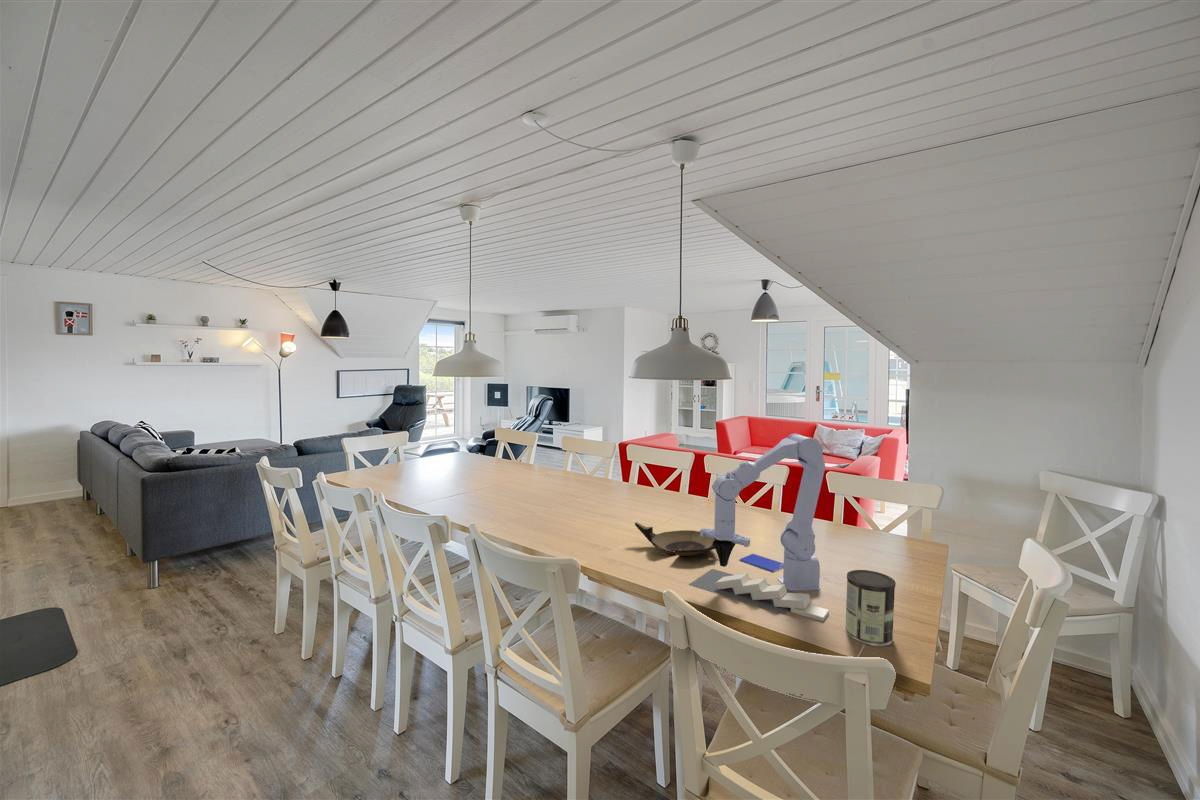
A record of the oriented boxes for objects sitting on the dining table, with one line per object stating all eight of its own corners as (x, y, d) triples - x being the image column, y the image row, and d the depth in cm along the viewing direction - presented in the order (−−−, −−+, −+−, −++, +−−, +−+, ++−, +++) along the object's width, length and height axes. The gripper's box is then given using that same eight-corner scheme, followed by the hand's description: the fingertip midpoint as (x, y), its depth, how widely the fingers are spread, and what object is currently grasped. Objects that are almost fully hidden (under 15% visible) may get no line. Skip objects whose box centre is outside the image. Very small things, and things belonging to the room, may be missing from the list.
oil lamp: (692, 572, 160) (692, 548, 160) (625, 545, 183) (625, 524, 182) (734, 555, 175) (735, 532, 174) (667, 532, 197) (668, 513, 197)
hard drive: (787, 564, 164) (753, 553, 174) (773, 570, 159) (739, 558, 168) (787, 568, 164) (753, 557, 174) (773, 575, 159) (739, 563, 169)
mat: (803, 595, 144) (803, 594, 144) (784, 616, 132) (784, 614, 132) (712, 569, 162) (712, 568, 162) (688, 585, 150) (688, 584, 150)
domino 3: (759, 593, 144) (787, 591, 139) (752, 600, 140) (780, 598, 135) (757, 586, 145) (784, 584, 140) (750, 592, 141) (778, 590, 136)
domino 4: (780, 599, 141) (810, 601, 136) (774, 606, 137) (804, 608, 132) (778, 592, 141) (808, 593, 136) (772, 598, 137) (803, 600, 132)
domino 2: (742, 588, 147) (767, 585, 143) (734, 594, 144) (760, 591, 139) (739, 581, 148) (765, 577, 143) (732, 587, 144) (758, 583, 139)
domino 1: (725, 583, 151) (750, 580, 146) (717, 589, 147) (742, 586, 142) (723, 576, 151) (747, 573, 146) (715, 582, 147) (740, 578, 142)
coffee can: (874, 623, 129) (877, 568, 128) (903, 645, 119) (906, 586, 118) (835, 625, 128) (838, 570, 127) (860, 648, 118) (863, 588, 117)
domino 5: (796, 608, 138) (828, 617, 133) (790, 615, 134) (823, 625, 129) (797, 600, 138) (828, 609, 133) (790, 607, 134) (823, 617, 129)
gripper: (695, 517, 148) (694, 563, 149) (743, 527, 139) (741, 576, 140) (706, 511, 154) (705, 556, 155) (753, 521, 145) (752, 568, 146)
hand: (723, 565), depth 148 cm, fingers closed
